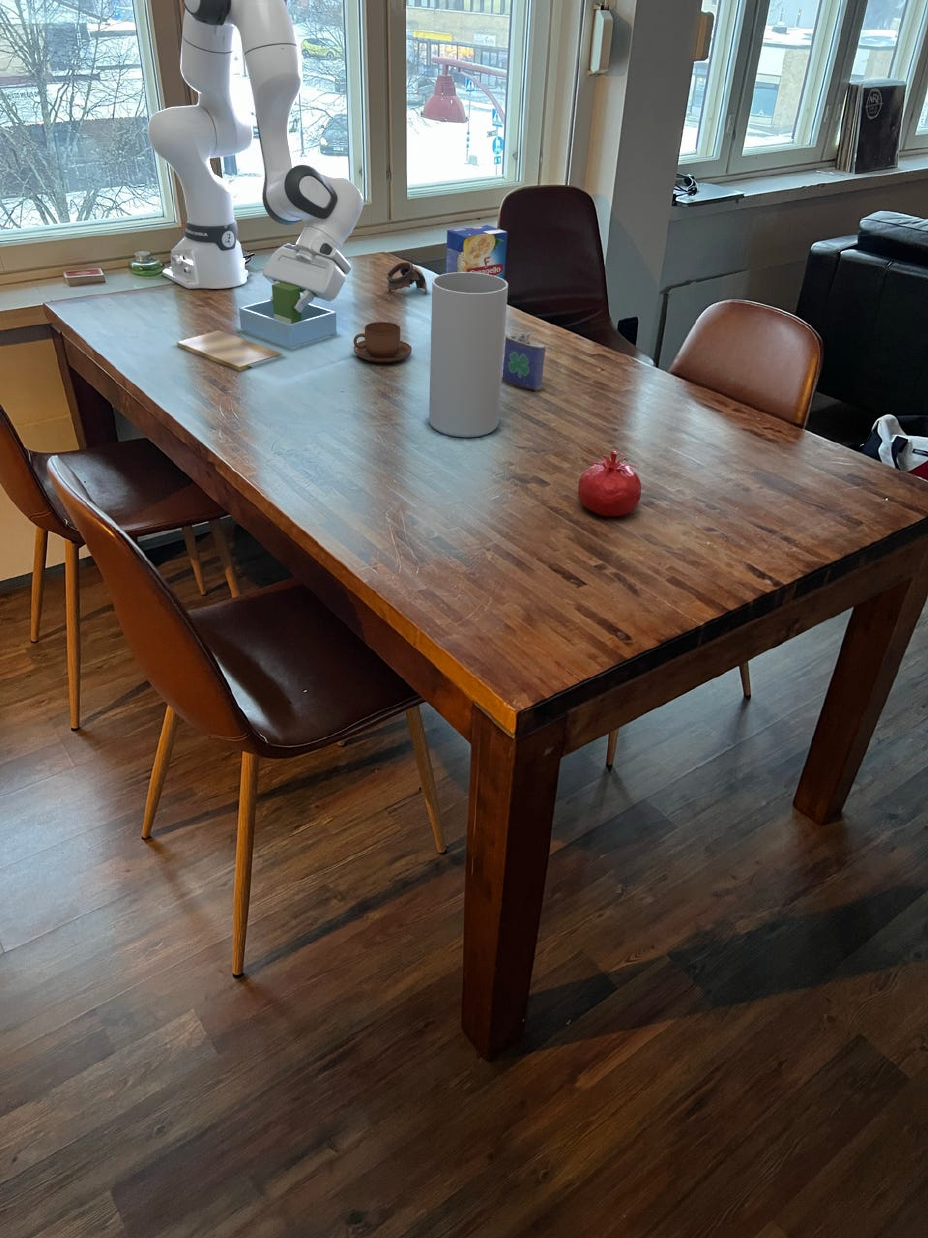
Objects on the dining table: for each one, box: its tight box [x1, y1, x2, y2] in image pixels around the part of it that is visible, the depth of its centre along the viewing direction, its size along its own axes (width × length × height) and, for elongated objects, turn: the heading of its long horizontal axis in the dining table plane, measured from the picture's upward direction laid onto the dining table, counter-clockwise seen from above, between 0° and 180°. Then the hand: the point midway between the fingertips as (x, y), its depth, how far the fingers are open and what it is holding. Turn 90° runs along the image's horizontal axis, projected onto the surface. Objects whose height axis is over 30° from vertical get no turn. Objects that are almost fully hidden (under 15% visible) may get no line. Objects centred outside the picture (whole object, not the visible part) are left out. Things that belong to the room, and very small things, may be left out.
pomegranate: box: [577, 450, 642, 518], centre depth 141 cm, size 10×10×9 cm
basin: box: [238, 299, 338, 348], centre depth 201 cm, size 16×13×5 cm
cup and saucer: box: [353, 321, 412, 363], centre depth 192 cm, size 12×12×6 cm
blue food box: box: [445, 224, 508, 280], centre depth 202 cm, size 7×11×22 cm, turn 127°
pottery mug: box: [386, 260, 429, 295], centre depth 232 cm, size 12×10×8 cm
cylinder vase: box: [428, 272, 509, 438], centre depth 160 cm, size 12×12×25 cm
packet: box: [271, 282, 302, 324], centre depth 200 cm, size 6×3×10 cm, turn 51°
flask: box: [501, 331, 546, 393], centre depth 181 cm, size 9×3×11 cm, turn 50°
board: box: [176, 330, 283, 372], centre depth 192 cm, size 20×11×1 cm, turn 51°
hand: (285, 306), depth 199 cm, fingers closed on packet, 5 cm apart
